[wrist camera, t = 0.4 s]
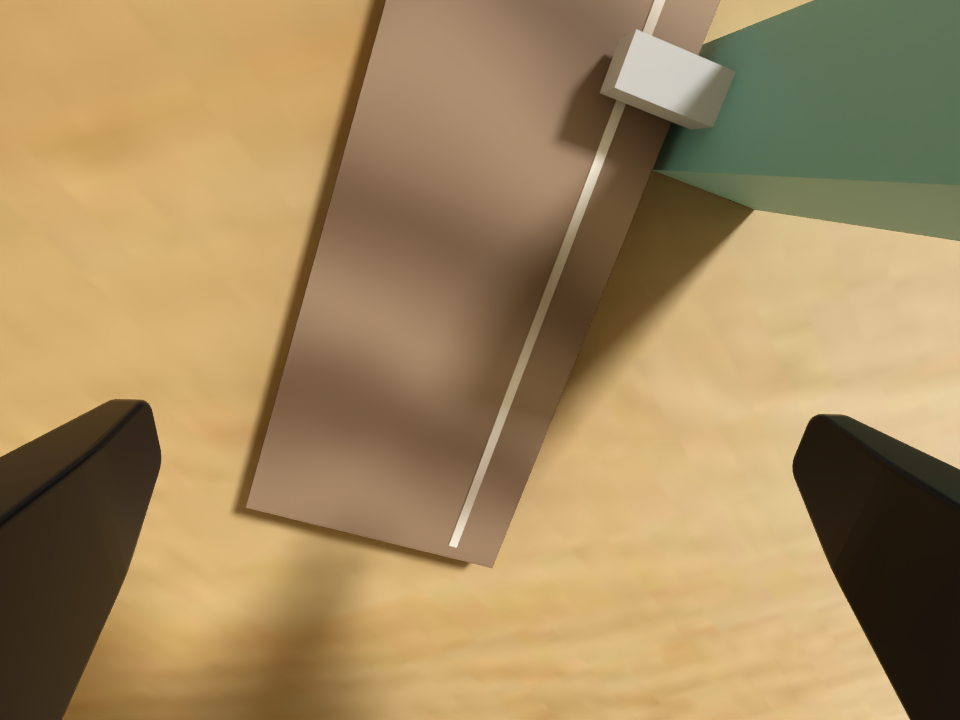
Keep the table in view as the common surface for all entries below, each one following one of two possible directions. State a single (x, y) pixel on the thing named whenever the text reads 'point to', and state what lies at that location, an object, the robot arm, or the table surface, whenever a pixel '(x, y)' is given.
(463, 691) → the table surface
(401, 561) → the table surface
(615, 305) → the table surface
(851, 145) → the teal rectangular block
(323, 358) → the board
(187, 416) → the table surface
